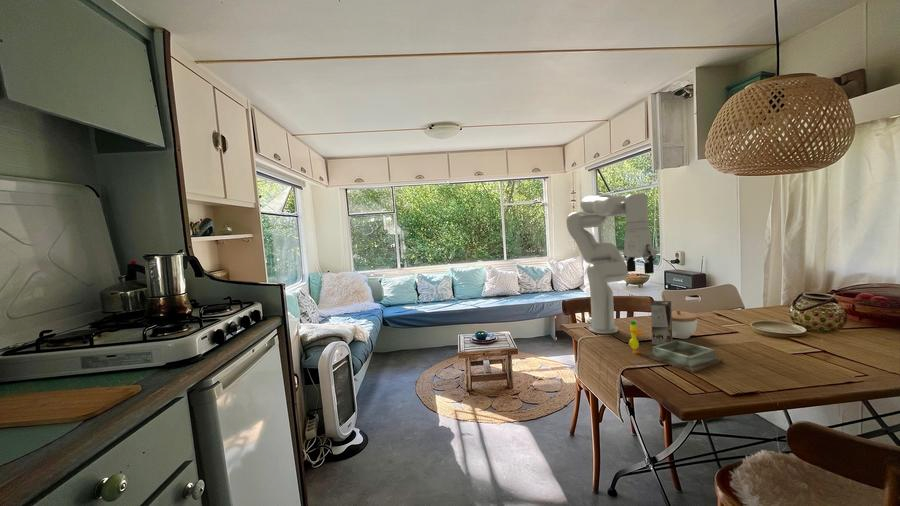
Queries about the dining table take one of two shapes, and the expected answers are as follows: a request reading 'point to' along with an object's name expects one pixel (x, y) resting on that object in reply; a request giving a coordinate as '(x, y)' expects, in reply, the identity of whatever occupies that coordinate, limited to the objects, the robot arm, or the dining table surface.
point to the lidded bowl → (683, 324)
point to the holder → (684, 355)
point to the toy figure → (634, 336)
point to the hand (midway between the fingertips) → (640, 272)
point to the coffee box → (661, 322)
